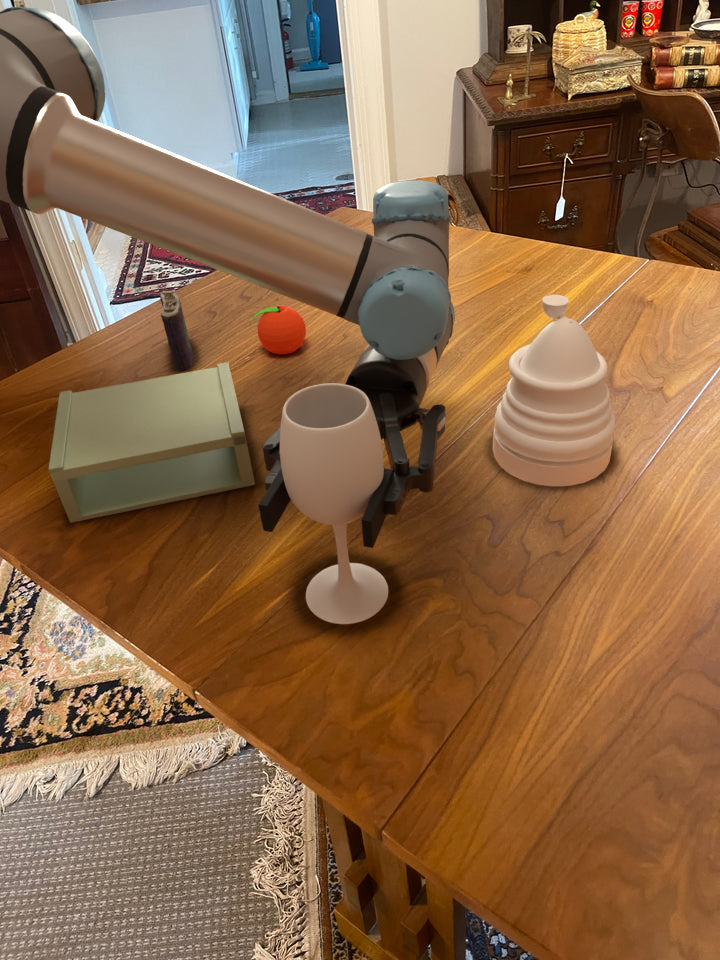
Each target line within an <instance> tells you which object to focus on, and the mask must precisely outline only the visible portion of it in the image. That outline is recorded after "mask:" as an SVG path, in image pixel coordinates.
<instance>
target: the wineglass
mask: <svg viewBox="0 0 720 960" xmlns="http://www.w3.org/2000/svg"><path fill="white" fill-rule="evenodd" d="M280 426H281V429H280V460H281V468H282V474H283V479H284V483H285V486H286V490H287V492H288V495H289V497H290V499H291V500H290V502H292V504H293V505H294V506H295V508H296V509H297V510H298V511H299V512H300V513H302V514H303V515H304V516H305V517H307V518H308V519H310V520H312V521H314V522H317V523H319V524H322V525H325V526H326V525H327V526H331V527H332V529H333V534H334V539H335V545H336V555H337V564H334V565H330V566H329V567H326V568H323V569H322V570H321V571H319V572H318V573H317V574H315V575H314V576H313V577H312V579H311V580H310V581H309V583H308V584H307V587H306V591H305V602H306V604H307V607H308V608H309V610H310V611H311V612H312V614H314V615H315V616H316V617H317V618H319V619H321V620H323V621H325V622H328V623H331V624H337V625H351V624H356V623H360V622H361V623H362V622H363V621H366V620H368V619H370V618H372V617H373V616H375V615H377V613H378V612H380V611H381V609H382V608H383V607H384V606H385V604H386V602H387V600H388V597H389V585H388V583H387V581H386V579H385V577H384V575H382V574H381V573H380V572H379V571H378V570H377V569H375V568H374V567H371V566H369V565H366V564H363V563H357V562H350V556H349V550H348V549H349V548H348V538H347V529H348V528H347V527H348V524H349V523H353V522H354V521H357V520H358V519H360V518H361V517H363V515H364V513H365V511H366V508H367V506H368V504H369V502H370V499H371V497H372V495H373V493H374V491H375V490H376V489H377V488H378V487H379V485H380V484H381V482H382V479H383V475H384V468H385V467H384V466H385V465H384V463H385V462H384V461H385V459H384V447H383V442H382V440H381V437H380V432H379V428H378V425H377V421H376V418H375V415H374V412H373V409H372V406H371V403H370V401H369V399H368V397H367V396H366V394H365V393H364V392H362V391H361V390H359V389H357V388H355V387H353V386H350V385H345V383H336V382H330V383H329V382H327V383H320V384H315V385H314V384H313V385H310V386H307V387H304V388H302V389H300V390H298V391H296V392H294V393H293V394H291V395H290V396H289V397H288V398H287V399H286V401H285V403H284V404H283V407H282V413H281V421H280Z"/></svg>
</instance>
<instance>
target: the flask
mask: <svg viewBox="0 0 720 960" xmlns="http://www.w3.org/2000/svg"><path fill="white" fill-rule="evenodd" d="M159 297H160V298H159V300H160V303H161V306H162V310H161V311H160V317H161V321H162V323H163V327H164V332H165V334H166V339H167V345H168V347H169V351H170V354H171V358H172V361H173V365H174V368H175V369H174V370H176V371H178V372H185V371H188V370H190V369H191V368H193V362H194V353H193V349H192V348H193V347H192V344H191V343H192V342H191V341H190V337H189V333H188V328H187V324H186V319H185V315H184V311H183V307H182V302H181V299H180V297H179V295H178V293H177V290H176V289H172V290H162V291H161V292H160V294H159Z"/></svg>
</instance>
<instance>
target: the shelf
mask: <svg viewBox="0 0 720 960" xmlns="http://www.w3.org/2000/svg"><path fill="white" fill-rule="evenodd" d="M58 394H59V396H58V400H57V401H58V402H57V408H56V414H55V421H54V427H53V428H54V429H53V436H52V443H51V448H50V455H49V456H50V457H49V461H48V462H49V463H48V472H49V475H50V477H51V480H52V482H53V485H54V487H55V489H56V492H57V494H58V497H59V499H60V501H61V504H62V506H63V509H64V511H65V513H66V516H67V518H68V521H69V523H70V524H71V523H76V522H81V521H86V520H91V519H96V518H101V517H105V516H111V515H116V514H120V513H126V512H129V511H130V512H131V511H134V510H140V509H145V508H150V507H154V506H158V505H164V504H168V503H174V502H177V501H184V500H188V499H193V498H198V497H202V496H208V495H212V494H217V493H221V492H226V491H227V492H228V491H232V490H237V489H242V488H246V487H250V486H255V485H256V482H255V478H254V472H253V467H252V463H251V457H250V452H249V447H248V442H247V438H246V432H245V428H244V424H243V419H242V415H241V409H240V407H239V401H238V398H237V393H236V389H235V385H234V381H233V377H232V372H231V368H230V363H229V361H226V362H225V361H224V362H219V363H217V364H216V366H215V367H209V368H203V369H199V370H197V369H196V370H192V371H186V372H182V373H181V372H180V373H176V374H171V375H165V376H160V377H153V378H148V379H143V380H137V381H132V382H131V381H130V382H125V383H119V384H115V385H108V386H104V387H98V388H93V389H87V390H82V391H76V392H73V390H72V389H70V390H64V391H60V392H59V393H58Z"/></svg>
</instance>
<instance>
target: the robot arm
mask: <svg viewBox="0 0 720 960" xmlns="http://www.w3.org/2000/svg"><path fill="white" fill-rule="evenodd" d="M105 102H106V85H105V78H104V74H103V69H102V67H101V64H100V62H99V60H98V58H97V55H96V53H95V51H94V50H93V48H92V47H91V45H90V43H89V42H88V41H87V40H86V38H85V37H84V36H83V34H82V33H81V32H80V31H79V30H78V29H77V28H76V27H74V26H73V24H71V23H69V21H67V20H66V19H65V18H63V17H61V16H60V15H58V14H56V13H53V12H51V11H49V10H46V9H42V8H38V7H25V6H24V7H23V6H11V7H7V8H4V9H2V10H0V201H2V202H5V203H8V204H10V205H13V206H16V207H18V208H21V209H23V210H26V211H29V212H31V213H34V214H36V215H43V214H46V213H48V212H50V211H52V210H55V209H58V210H61V211H63V212H66V213H68V214H72V215H74V216H77V217H79V218H82V219H83V220H87V221H89V222H93V223H94V224H97V225H100V226H103V227H105V228H108V229H110V230H112V231H116V232H118V233H120V234H124V235H126V236H128V237H131V238H134V239H137V240H139V241H141V242H144V243H147V244H149V245H151V246H155V247H157V248H159V249H163V250H164V251H167V252H170V253H173V254H174V255H178V256H181V257H182V258H185V259H188V260H191V261H193V262H196V263H199V264H201V265H204V266H205V267H209V268H212V269H214V270H216V271H219V272H222V273H224V274H227V275H230V276H232V277H235V278H237V279H240V280H243V281H246V282H248V283H250V284H253V285H256V286H258V287H261V288H264V289H266V290H268V291H272V292H274V293H277V294H279V295H282V296H284V297H287V298H290V299H292V300H294V301H297V302H299V303H302V304H305V305H308V306H310V307H312V308H315V309H318V310H321V311H323V312H326V313H328V314H331V315H333V316H336V317H338V318H341V319H343V320H345V321H347V322H350V323H352V324H355V325H357V326H359V328H360V333H361V335H362V337H363V339H364V340H365V341H366V342H367V344H366V346H365V348H364V350H363V351H362V353H361V354H360V356H359V358H358V359H357V362H356V363H355V364H354V366H353V368H352V370H351V371H350V372H349V374H348V376H347V379H346V381H345V383H344V384H345V385H350V386H353V387H355V388H357V389H359V390H361V391H362V392H364V393H365V394H366V396H367V397H368V399H369V401H370V403H371V406H372V409H373V412H374V415H375V418H376V421H377V425H378V428H379V432H380V437H381V441H382V440H383V443H384V448H385V451H386V454H387V458H388V463H389V467H390V468H385V467H384V475H383V479H382V482H381V484H380V485H379V487H378V488H377V489H376V490H375V491H374V493H373V495H372V497H371V499H370V502H369V504H368V506H367V508H366V511H365V513H364V515H363V516H361V517H362V518H361V531H362V543H363V547H365V548H371V549H373V548H374V547H375V544H376V542H377V539H378V537H379V535H380V532H381V530H382V527H383V525H384V523H385V520H386V518H387V515H392V516H397V515H398V514H399V513H400V512H401V510H402V507H403V505H404V503H405V500H406V498H407V495H408V494H409V493H410V492H411V491H412V490H416V489H417V490H418V491H420V492H421V493H431V491H433V490H434V482H435V471H436V461H437V451H438V442H439V440H440V439H441V437H442V436H443V434H444V433H445V432H446V406H445V405H443V404H439V403H438V404H434V405H432V407H431V408H430V409H427V408H422V407H421V404H422V403H423V400H424V397H425V395H426V392H427V391H428V388H429V386H430V383H431V381H432V379H433V376H434V374H435V372H436V370H437V367H438V364H439V362H440V360H441V358H442V356H443V354H444V351H445V349H446V347H447V346H448V344H450V339H451V338H452V336H453V331H454V325H455V321H456V320H455V319H456V312H455V311H456V310H455V307H454V304H453V302H452V295H451V292H450V289H449V286H450V285H449V277H450V221H451V216H450V214H449V213H450V211H449V208H450V207H449V194H448V192H447V190H446V188H445V187H443V186H442V185H441V184H439V183H436V182H433V181H428V180H420V179H419V180H415V179H414V180H413V179H412V180H402V181H395V182H391V183H388V184H386V185H384V186H382V187H379V189H378V190H376V191H375V192H374V195H373V198H372V218H371V224H372V225H373V235H372V234H370V233H367V232H366V231H364V230H361V229H358V228H356V227H354V226H351V225H349V224H347V223H344V222H342V221H340V220H337V219H334V218H332V217H329V216H328V215H324V214H322V213H319V212H317V211H315V210H313V209H310V208H308V207H304V206H302V205H300V204H297V203H295V202H293V201H291V200H288V199H286V198H284V197H281V196H278V195H276V194H274V193H271V192H269V191H267V190H264V189H262V188H259V187H257V186H254V185H251V184H249V183H247V182H245V181H242V180H240V179H238V178H234V177H232V176H229V175H227V174H225V173H222V172H220V171H218V170H215V169H213V168H211V167H207V166H206V165H203V164H201V163H198V162H196V161H193V160H190V159H188V158H186V157H183V156H181V155H179V154H176V153H174V152H171V151H170V150H166V149H164V148H161V147H159V146H156V145H154V144H152V143H149V142H148V141H145V140H142V139H139V138H137V137H136V136H132V135H130V134H127V133H125V132H122V131H120V130H117V129H115V128H113V127H110V126H109V125H108V126H107V125H105V124H103V123H100V122H99V120H100V118H101V116H102V114H103V112H104V108H105ZM417 423H418V424H419V429H420V430H421V432H422V433H421V438H420V447H419V452H418V453H419V455H418V462H417V465H415V466H414V465H413V466H410V458H408V454H407V452H406V448H405V444H404V440H403V437H402V432H403V431H404V430H406V429H408V428H411V427H412V426H414V425H416V424H417ZM280 429H281V425H280V426H279V427H278V428H277V429H275V431H274V432H273V433H272V434H271V435H270V436H269V437H268V438H267V439H266V440H265V441H264V442H263V444H262V446H261V448H262V452H263V458H264V459H263V460H264V464H265V468H266V470H267V472H268V474H267V475H266V477H265V479H264V486H265V493H264V495H263V496H262V498H261V500H260V501H259V503H258V510H259V515H260V521H261V526H262V530H263V532H270V533H273V531H274V530H275V528H276V526H277V525H278V523H279V522H280V520H281V518H282V516H283V514H284V513H285V511H286V510H287V508H288V505H290V504H289V503H290V502H291V499H290V497H289V495H288V492H287V490H286V486H285V483H284V479H283V474H282V468H281V460H280Z"/></svg>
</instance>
